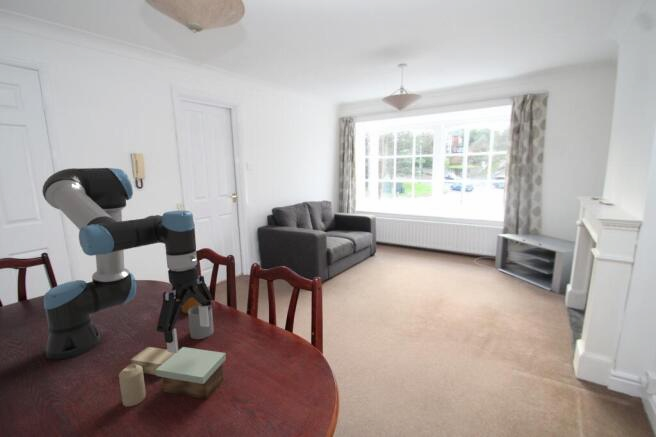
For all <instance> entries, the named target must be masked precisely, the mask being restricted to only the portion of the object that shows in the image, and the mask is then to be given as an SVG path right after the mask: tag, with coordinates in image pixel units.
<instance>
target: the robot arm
mask: <svg viewBox="0 0 656 437" xmlns="http://www.w3.org/2000/svg"><path fill="white" fill-rule="evenodd" d="M41 192H42V195H43V199H44V200H45V201H46V203H47V204H49V206H51V207H53V208H54V209H57V210H60V211H61V212H62V213H63V214H64V216H66V218H67V219H68V220H70V221H71V223H72V224H74V225H75V227H76V228H77V229H78V230H79V232H78V241H79V245H80V247H81V249H82V252H83V253H84V254H85V255H87V256H89V257H90V256H91V257H93V256H95V265H96V271H95V272H93V274H92V276H91V280H92V281H90V282H86V281H85V280H83V279H82V280H81V279H77V280H76V279H75V280H71V281H66V282H63V283H60V284H59V285H56V286H55V287H52V288H50V289H49V290H48V291H47V292H46V293H45V294H44V295H43V308H44V311H45V315H46V321H47V326H48V332H49V334H48V337H47V338H48V339H47V343H46V347H45V350H44V351H45V356H46V358H47V359H49V360H65V359H70V358H72V357H76V356H80V355H82V354H84V353H87V352H88V351H90V350H92V349H93V348H95V347H97V346H98V345H99V343H100V342H101V336H100V335H101V334H100V332H99V331H98V329H97V328H96V326H95V324H94V323H93V321H92V315H93V314H96V313H99V312H102V311H105V310H108V309H110V308H115V307H117V306H121V305H123V304H127V303H128V302H131V301H132V300H133V299H134V297H135V296H136V292H137V283H136V278H135V275H134V274H133V273H131V272H130V271H129V269H128V268H126V267H125V254H124V251H125V250H128V249H133V248H134V249H135V248H140V247H144V246H149V245H154V244H160V243H161V244H164V245H165V246H164V248H165V254H166V255H165V257H166V258H165V259H166V267H167V269H168V270H167V276H168V282H169V284H170V285H171V286H172V289H171V290H170V291H169V292H168V291H164V292H163V294H162V304H161V308H160V313H159V318H158V322H157V326H156V332H158V333H164V342H165V343H166V350H168V352H172V353H177V352H178V351H179V342H178V333H177V328H174V327H175V326H176V322H177V320H178V317H179V315H180V312H181V311H182V305H184V303H185V301H187V300H188V299H189V298H192V297H193V298H194V299H195V300H196V301H197V302H199V303H200V304H201V305H200V306H198V307H199V318H200V326H203V327H209V315H208V314H209V309H208V305H210V306H211V305H212V301H213V299H214V298H213V296H212V294H211V292H210V290H209V288H208V285H207V283H205V276H204V275H199V266H198V255H197V242H196V231H195V230H196V228H195V226H196V225H195V222H194V214H193V213H192V212H191V211H190V210H173V211H172V210H170V211H165V212H164V213H163V214H162V215H159V214H156V215H148V216H145V217H144V218H136V219H129V220H128V219H127V220H123V214H122V212H123V210H124V209H125V208H126V207H127V201H129V200H131V199H132V198H133V195H134V190H133V185H132V182H131V179H130V178H129V176H128V174H127V173H126V171H124V170H123V169H121V168H113V167H91V168H90V167H87V168H86V167H85V168H84V167H82V168H77V167H76V168H66V169H61V170H59V171H56V172H54V173H53V174H51V175H50V176H49V177H48V178H47V179H46V180H45V181H44V183H43V185H42V191H41ZM197 288H198V289H197Z"/></svg>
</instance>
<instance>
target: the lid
mask: <svg viewBox="0 0 656 437" xmlns="http://www.w3.org/2000/svg"><path fill="white" fill-rule="evenodd" d="M226 360H227V356H226V352H220V351H214V350H213V351H212V350H206V349H200V348H199V349H198V348H193V347H186V346H182V347H181V348H180V349H178V352H177V353H175V354H174V355H173V356H172V357H170V358H169V359H168V360H167V361H166V362H164V363H163V364H162V365H161V366H159V367H158V368H157V369H156V375H155V376H156V377H161V378H163V377H165V378H171V379H177V380H183V381H189V382H195V383H200V384H204V383H205V382H206V381H207V380H208V378H209V377H210V376H211V375H212V374H213V373H214V372H215V371H216V370H217V368H218V367H219V366H220V365H221V364H222V365H223V363H224V362H225V361H226Z"/></svg>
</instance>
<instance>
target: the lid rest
mask: <svg viewBox="0 0 656 437" xmlns="http://www.w3.org/2000/svg"><path fill="white" fill-rule="evenodd" d="M174 354H175V353H172V352H168V350H167V348H157V347H153V346H152V347H151V346H148V347H146V348H145V349H143V350H142V351H140V352H139V353H137V354H136V355H134V356H133V357H132V358H131V359H130V364H133V363H134V364H136V365H139V366H142V368H143V374H147V375H152V376H153V375H154V376H156V369H157V368H158V367H159V366H161V365H162V364H163V363H164V362H166V361H167V360H168V359H169V358H170V357H172V356H173V355H174Z"/></svg>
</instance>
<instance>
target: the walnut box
mask: <svg viewBox="0 0 656 437" xmlns="http://www.w3.org/2000/svg"><path fill="white" fill-rule="evenodd" d="M223 373H224V372H223V363H222V364H221V365H220V366H219V367H218V368H217V370H216V371H215V372H214V373H213V374H212V375H211V376H210V377H209V378H208V380H207V381H206V382H205V383H204V384H200V383H195V382H189V381H183V380H177V379H171V378H165V377H162V384H163V391H164V393H169V394H170V393H171V394H174V395H175V394H176V395H182V396H187V397H192V398H197V399H203V400H208V399H209V397H211V395H213V393H214V392H215V390H216V389H217V388H218V387H219V385H220V384H221V383H222V382H223V380H224V375H223Z"/></svg>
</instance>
